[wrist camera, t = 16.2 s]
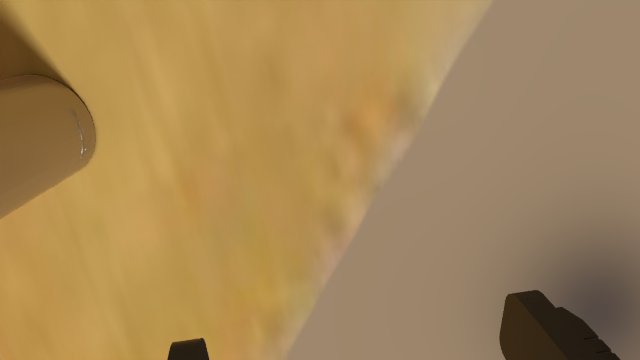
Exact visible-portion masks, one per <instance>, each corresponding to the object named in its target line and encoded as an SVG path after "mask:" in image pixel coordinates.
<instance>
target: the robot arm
mask: <svg viewBox="0 0 640 360" xmlns="http://www.w3.org/2000/svg"><path fill="white" fill-rule="evenodd" d="M95 142H96V135H95V127H94V124H93V121H92V118H91V116H90V114H89V112H88V110H87V108H86V106H85V105H84V104H83V103H82V101H81V100H80V99H79V98H78V96H77V95H75V94H74V93H73V92H72V91H71V90H70V89H69V88H67V87H66V86H64V85H63V84H61V83H59V82H58V81H56V80H53V79H51V78H48V77H45V76H40V75H20V76H15V77H10V78H5V79H1V80H0V219H1V218H3V217H5V216H6V215H8V214H10V213H11V212H13V211H14V210H16V209H18V208H19V207H21V206H23V205H24V204H26V203H27V202H29V201H31V200H32V199H34V198H36V197H37V196H39V195H40V194H42V193H44V192H45V191H47V190H49V189H50V188H52V187H54V186H55V185H57V184H59V183H60V182H62V181H63V180H65V179H67V178H68V177H70V176H71V175H73V174H75V173H76V172H78V171H79V170H81V169H82V168H83V167H84V166H85V165H86V164H87V163H88V162H89V160H90V159H91V157H92V155H93V152H94V149H95ZM500 345H501V350H502V353H503V355H504V357H505V359H506V360H620V359H619V358H618V357H617V355H616V354H614V353H612V352H611V349H610V348H609V347H608V346H607V345H606V344H605V343H604V342H603V341H602V340H599V338H598V336H597V335H596V334H595V332H594V331H593V330H592V329H591V328H590V327H589V326H588V325H587V324H586V323H585V322H584V321H583V320H582V319H580V318H579V317H577V316H575V315H574V314H572V313H571V312H569V311H568V310H566V309H564V308H563V307H558V308H555V307H554V306H553V304H552V303H551V302H550V301H549V300H548V299H547V298H546V297H545V296H544V295H543V294H542V293H541V292H540V291H538V290H533V291H527V292H520V293H514V294H509V295H508V296H507V297H506V300H505V306H504V312H503V318H502V324H501V330H500ZM168 360H209V356H208V352H207V348H206V344H205V341H204V339H203V338H200V339H193V340H186V341H179V342H173V343H172V344H171V347H170V351H169V355H168Z"/></svg>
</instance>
